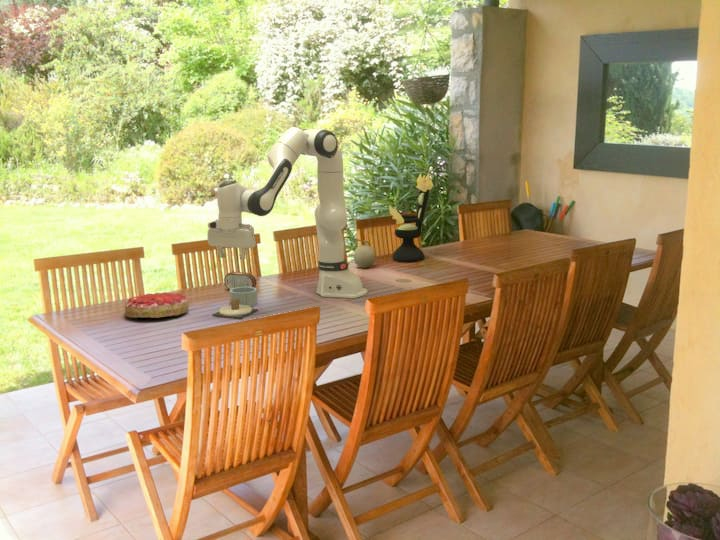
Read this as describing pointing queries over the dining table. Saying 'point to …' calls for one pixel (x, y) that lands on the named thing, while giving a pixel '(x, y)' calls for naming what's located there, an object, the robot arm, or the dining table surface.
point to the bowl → (244, 295)
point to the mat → (233, 316)
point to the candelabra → (409, 231)
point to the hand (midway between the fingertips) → (232, 258)
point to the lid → (235, 309)
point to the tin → (239, 280)
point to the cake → (156, 305)
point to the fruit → (364, 255)
